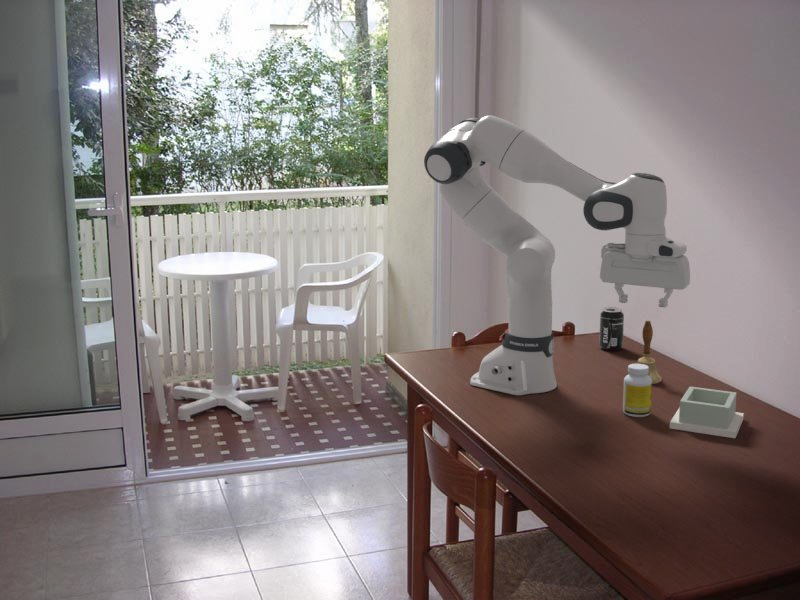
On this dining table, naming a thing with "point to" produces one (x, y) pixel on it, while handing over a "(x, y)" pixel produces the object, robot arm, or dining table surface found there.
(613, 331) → the beverage can
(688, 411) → the well block
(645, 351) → the hand bell
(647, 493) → the dining table surface
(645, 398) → the pill bottle
